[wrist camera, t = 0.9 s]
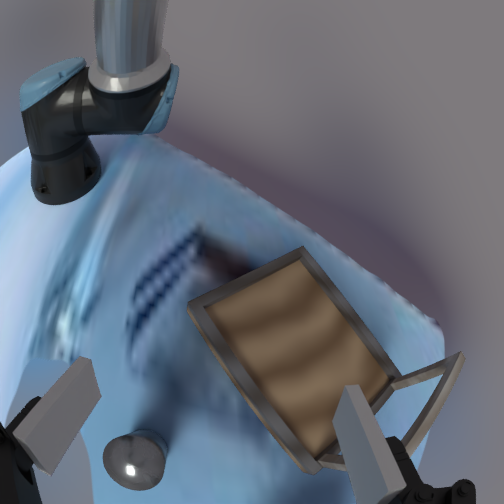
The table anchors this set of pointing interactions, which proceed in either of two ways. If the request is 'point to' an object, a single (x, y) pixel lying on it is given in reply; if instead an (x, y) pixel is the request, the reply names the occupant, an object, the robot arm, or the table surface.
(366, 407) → the robot arm
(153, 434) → the steel cylinder
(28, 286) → the table surface
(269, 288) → the caster cart
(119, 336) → the table surface
